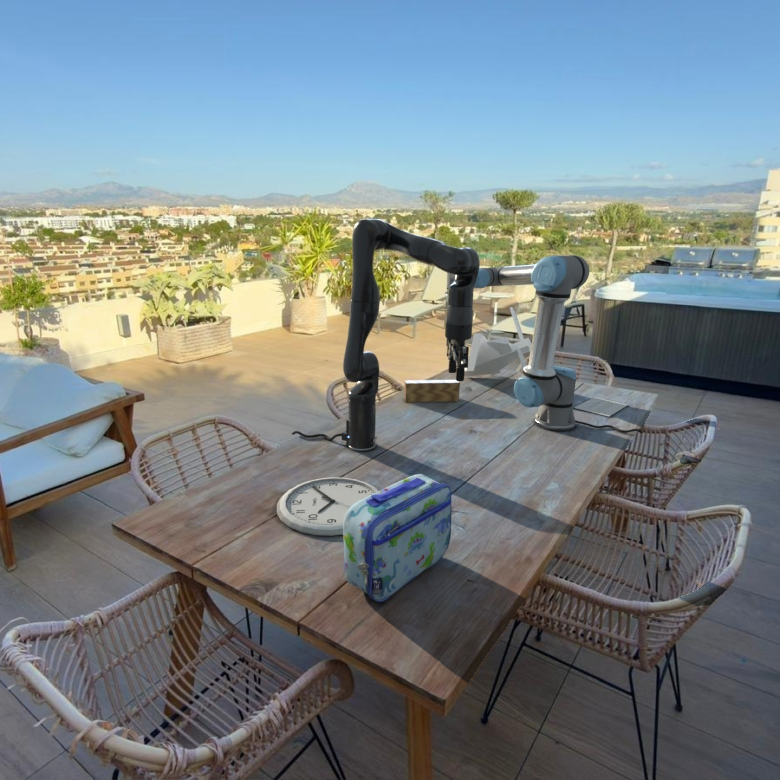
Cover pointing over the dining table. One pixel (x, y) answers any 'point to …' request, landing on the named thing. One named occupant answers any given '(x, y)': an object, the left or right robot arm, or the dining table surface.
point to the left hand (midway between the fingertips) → (455, 376)
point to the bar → (431, 390)
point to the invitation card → (601, 406)
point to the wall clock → (321, 504)
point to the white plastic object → (496, 352)
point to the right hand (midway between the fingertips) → (452, 349)
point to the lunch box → (396, 535)
